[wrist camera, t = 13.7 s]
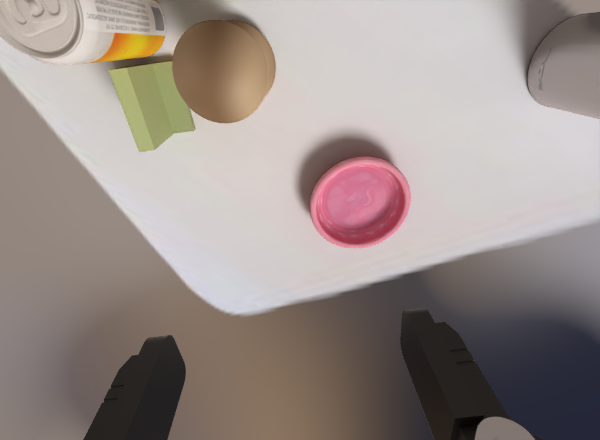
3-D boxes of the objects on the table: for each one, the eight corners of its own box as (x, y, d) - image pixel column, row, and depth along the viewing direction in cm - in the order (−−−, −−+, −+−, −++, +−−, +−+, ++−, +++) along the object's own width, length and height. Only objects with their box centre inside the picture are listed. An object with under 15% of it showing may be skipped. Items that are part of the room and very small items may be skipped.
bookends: (121, -141, 25) (71, -199, 19) (195, 129, 36) (178, 146, 30) (47, -131, 25) (-26, -186, 19) (143, 136, 36) (115, 154, 30)
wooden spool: (268, 15, 31) (264, 4, 22) (280, 101, 35) (281, 122, 26) (188, 26, 31) (149, 19, 22) (208, 110, 35) (183, 135, 26)
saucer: (382, 243, 45) (389, 256, 43) (298, 228, 43) (299, 241, 41) (417, 162, 40) (428, 171, 37) (322, 140, 38) (326, 147, 35)
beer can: (90, -9, 29) (-62, -51, 16) (153, -24, 29) (50, -78, 16) (120, 62, 32) (12, 76, 19) (177, 50, 32) (108, 55, 19)
